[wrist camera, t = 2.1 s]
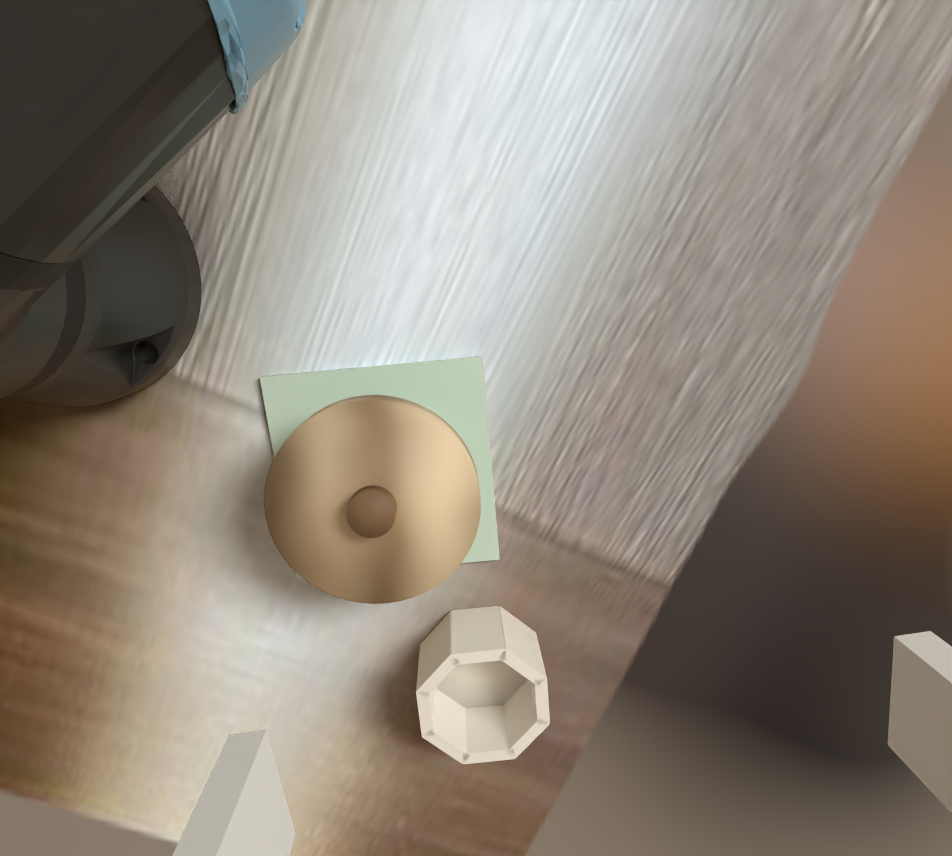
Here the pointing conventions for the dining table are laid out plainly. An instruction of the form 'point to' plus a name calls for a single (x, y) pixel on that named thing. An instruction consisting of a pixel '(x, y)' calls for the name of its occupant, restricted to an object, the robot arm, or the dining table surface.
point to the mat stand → (426, 383)
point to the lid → (373, 499)
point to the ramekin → (481, 686)
